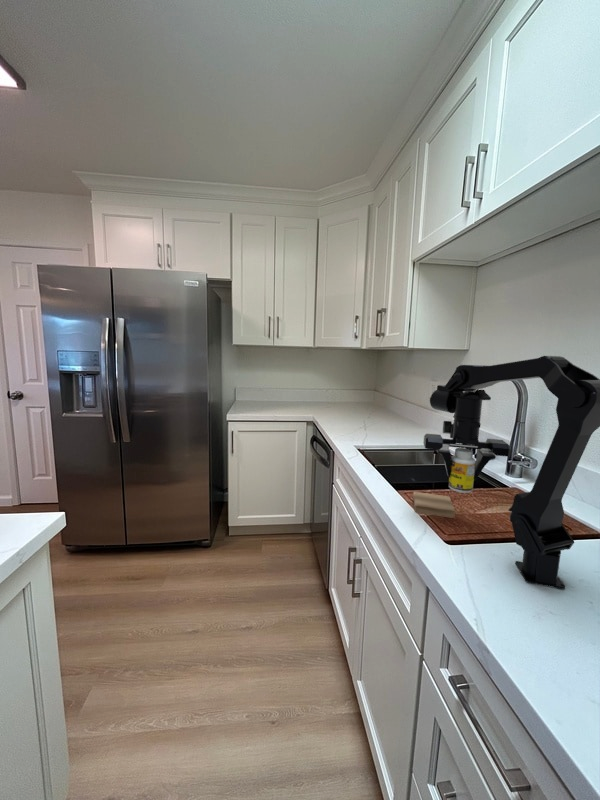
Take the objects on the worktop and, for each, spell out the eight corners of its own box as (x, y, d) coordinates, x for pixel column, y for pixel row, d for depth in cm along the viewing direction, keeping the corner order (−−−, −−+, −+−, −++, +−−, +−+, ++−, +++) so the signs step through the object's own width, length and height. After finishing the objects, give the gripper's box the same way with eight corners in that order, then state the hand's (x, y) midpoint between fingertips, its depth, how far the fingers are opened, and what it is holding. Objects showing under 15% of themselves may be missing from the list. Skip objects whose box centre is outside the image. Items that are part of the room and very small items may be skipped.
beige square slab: (454, 518, 89) (455, 511, 89) (415, 512, 92) (415, 505, 92) (448, 502, 99) (449, 496, 98) (413, 498, 101) (413, 491, 101)
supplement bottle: (443, 486, 86) (446, 447, 85) (460, 484, 88) (464, 446, 86) (459, 494, 81) (463, 453, 79) (477, 492, 82) (482, 452, 81)
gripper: (500, 414, 87) (493, 471, 89) (424, 409, 92) (419, 464, 94) (514, 421, 76) (507, 487, 78) (427, 415, 81) (423, 477, 83)
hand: (461, 477), depth 84 cm, fingers closed on supplement bottle, 6 cm apart
